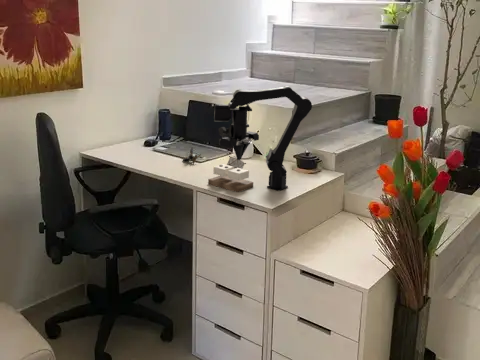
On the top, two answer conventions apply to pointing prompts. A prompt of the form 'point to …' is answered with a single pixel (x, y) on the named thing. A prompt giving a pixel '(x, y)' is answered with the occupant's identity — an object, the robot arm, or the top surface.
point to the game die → (235, 162)
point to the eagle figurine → (191, 156)
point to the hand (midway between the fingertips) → (238, 159)
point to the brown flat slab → (230, 183)
